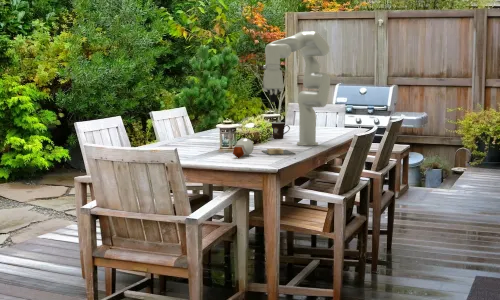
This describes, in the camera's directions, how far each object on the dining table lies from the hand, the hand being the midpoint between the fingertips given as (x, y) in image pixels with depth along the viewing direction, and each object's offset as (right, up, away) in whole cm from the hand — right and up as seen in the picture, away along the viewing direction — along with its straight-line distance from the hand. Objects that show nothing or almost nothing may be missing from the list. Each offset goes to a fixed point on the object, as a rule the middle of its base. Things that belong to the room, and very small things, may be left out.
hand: (272, 102), depth 381 cm
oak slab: (0, -26, -1) cm, 26 cm away
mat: (+3, -27, +1) cm, 27 cm away
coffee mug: (+6, -19, +68) cm, 71 cm away
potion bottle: (-16, -29, -11) cm, 35 cm away
